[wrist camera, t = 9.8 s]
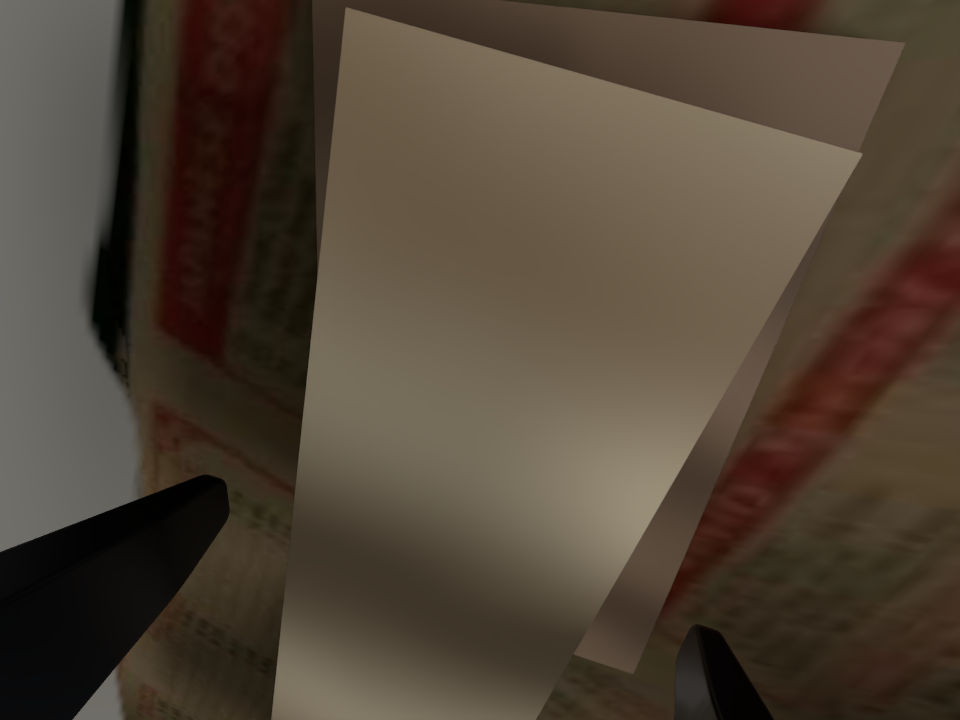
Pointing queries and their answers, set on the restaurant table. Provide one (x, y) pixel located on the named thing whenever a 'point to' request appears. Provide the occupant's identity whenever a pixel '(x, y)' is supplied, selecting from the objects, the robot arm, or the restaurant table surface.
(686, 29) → the peg holder
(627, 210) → the pine board
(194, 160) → the restaurant table surface
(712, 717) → the robot arm
